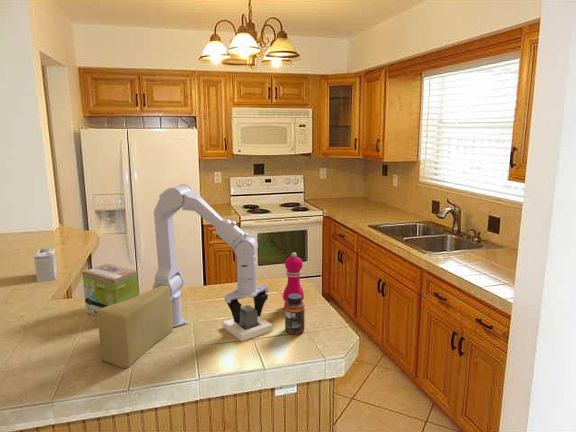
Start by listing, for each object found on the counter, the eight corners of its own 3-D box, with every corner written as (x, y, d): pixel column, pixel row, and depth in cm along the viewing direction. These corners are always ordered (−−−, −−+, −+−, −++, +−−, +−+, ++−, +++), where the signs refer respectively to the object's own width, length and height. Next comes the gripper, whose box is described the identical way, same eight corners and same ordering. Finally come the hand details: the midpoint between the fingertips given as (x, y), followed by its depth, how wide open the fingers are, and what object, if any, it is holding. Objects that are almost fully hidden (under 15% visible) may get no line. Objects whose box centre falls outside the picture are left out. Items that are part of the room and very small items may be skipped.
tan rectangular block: (159, 326, 132) (156, 281, 129) (183, 333, 127) (181, 286, 124) (99, 360, 112) (94, 308, 109) (126, 370, 108) (122, 315, 105)
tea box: (84, 313, 141) (80, 270, 138) (110, 302, 149) (106, 262, 146) (116, 323, 134) (113, 278, 131) (141, 311, 143) (138, 269, 140)
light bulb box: (39, 273, 178) (36, 249, 175) (57, 271, 180) (54, 247, 178) (36, 282, 168) (33, 256, 166) (55, 279, 171) (53, 254, 169)
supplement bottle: (299, 324, 134) (300, 291, 131) (307, 333, 128) (308, 298, 126) (282, 327, 132) (282, 293, 129) (289, 336, 126) (289, 300, 124)
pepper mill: (301, 313, 142) (302, 256, 138) (280, 311, 143) (281, 254, 139) (305, 304, 149) (306, 250, 145) (285, 303, 150) (285, 248, 146)
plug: (246, 332, 127) (246, 312, 126) (237, 326, 131) (237, 307, 130) (257, 328, 130) (257, 309, 128) (248, 322, 134) (248, 304, 132)
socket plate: (241, 341, 123) (241, 334, 122) (222, 327, 131) (222, 320, 131) (272, 330, 130) (272, 323, 129) (252, 318, 138) (252, 311, 138)
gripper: (232, 285, 119) (233, 330, 122) (274, 275, 128) (274, 317, 131) (220, 278, 125) (221, 321, 128) (261, 269, 134) (261, 309, 137)
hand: (247, 318), depth 130 cm, fingers open, 7 cm apart
